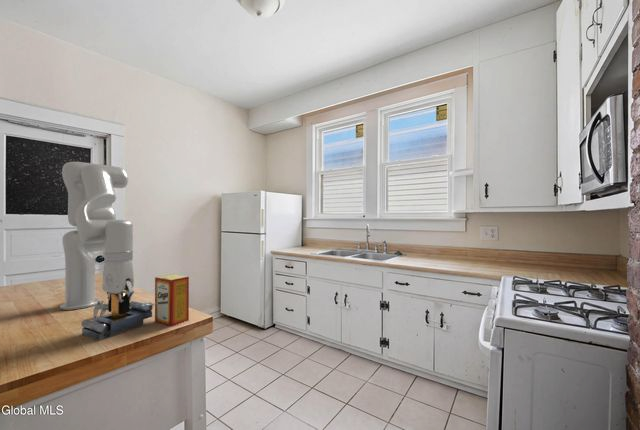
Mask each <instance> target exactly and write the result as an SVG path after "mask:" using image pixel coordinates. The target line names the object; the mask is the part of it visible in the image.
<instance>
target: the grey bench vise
mask: <svg viewBox="0 0 640 430" xmlns="http://www.w3.org/2000/svg"><path fill="white" fill-rule="evenodd" d="M144 303H145V302H140V301H135V300H132V301H131V300H130V311H129V312H127V313H126V317H124V318H121V319H118V320H111V313H108V314H104V315H103V316H101V317H100V316H98V317H96V318H94V317H93V320H91V319H83V321H82V322H81V335H82V336H86V337H87V338H91V339H94V340H97V341H103V340H106V339H108V338H112V337H114V336H116V335H120V334H123V333H126V332H128V331H132V330H134V329H137V328H140V327H143V326H144V321H145V320H147V319H149V318H152V317H153V308H154V307H153V305H149V304H144Z"/></svg>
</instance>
